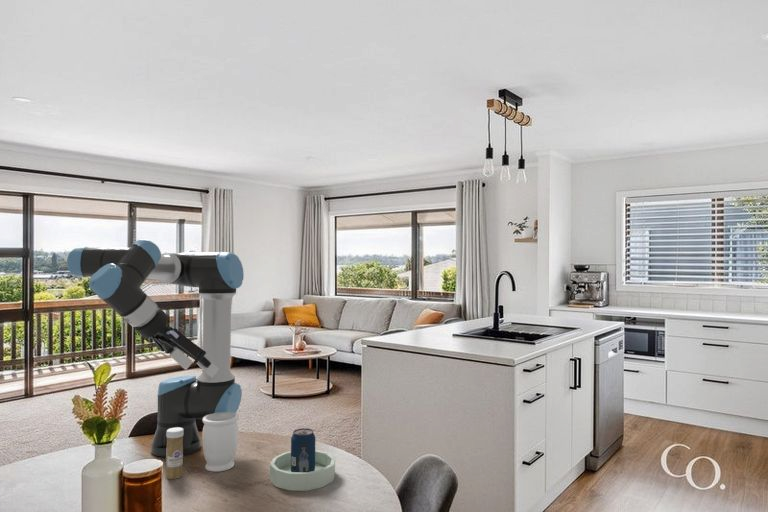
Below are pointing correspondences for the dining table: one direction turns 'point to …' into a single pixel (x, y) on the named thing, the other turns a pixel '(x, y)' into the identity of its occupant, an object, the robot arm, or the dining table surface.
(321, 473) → the bowl
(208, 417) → the jar
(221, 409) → the robot arm
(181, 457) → the sprinkles bottle
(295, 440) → the soda can
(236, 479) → the dining table surface
